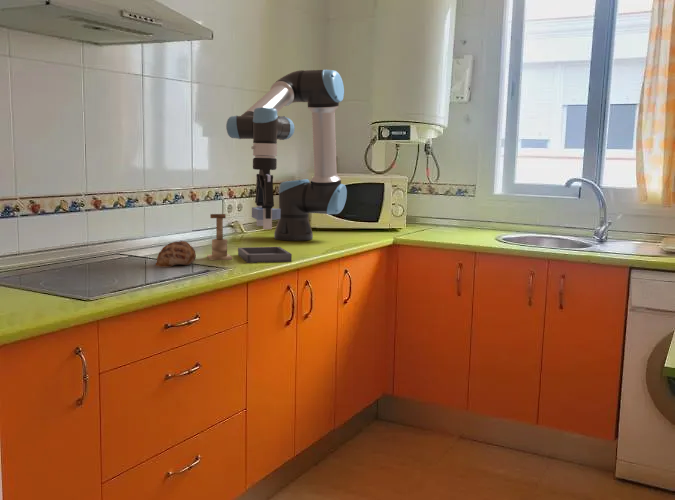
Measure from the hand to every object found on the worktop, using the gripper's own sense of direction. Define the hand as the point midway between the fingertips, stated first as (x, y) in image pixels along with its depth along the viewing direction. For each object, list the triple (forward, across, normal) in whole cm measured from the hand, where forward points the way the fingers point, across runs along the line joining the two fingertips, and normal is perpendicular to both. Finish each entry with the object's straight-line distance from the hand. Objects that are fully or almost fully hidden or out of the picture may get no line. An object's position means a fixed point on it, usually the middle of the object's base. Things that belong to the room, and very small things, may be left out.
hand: (263, 227), depth 233 cm
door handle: (+10, -3, -14) cm, 17 cm away
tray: (+10, 0, 0) cm, 10 cm away
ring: (-3, 0, 0) cm, 3 cm away
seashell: (+11, +8, -28) cm, 31 cm away
